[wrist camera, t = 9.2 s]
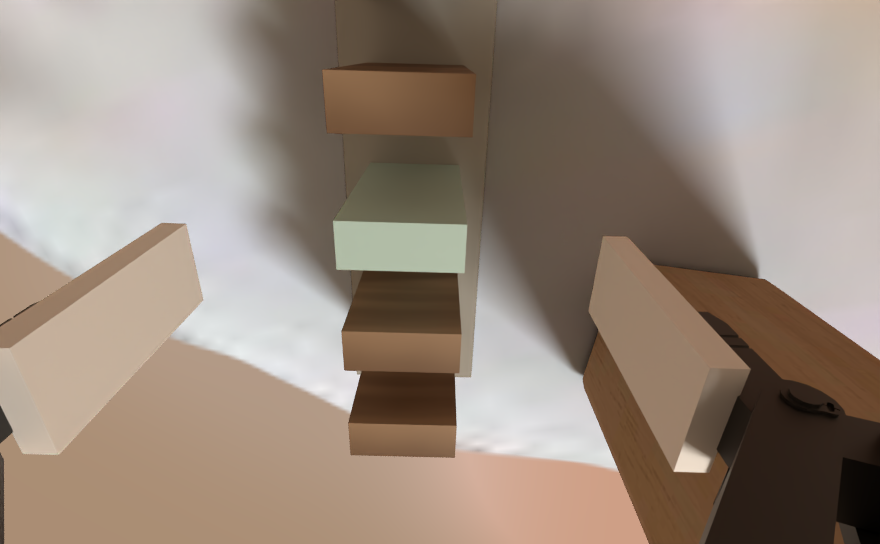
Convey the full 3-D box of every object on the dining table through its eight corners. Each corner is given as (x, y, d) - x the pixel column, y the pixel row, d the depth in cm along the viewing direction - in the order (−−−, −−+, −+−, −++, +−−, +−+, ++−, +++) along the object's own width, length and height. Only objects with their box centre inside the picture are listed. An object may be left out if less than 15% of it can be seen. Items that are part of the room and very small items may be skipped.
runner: (327, -134, 21) (326, -137, 21) (505, -128, 21) (506, -130, 21) (357, 371, 33) (356, 374, 33) (470, 374, 33) (471, 377, 33)
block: (709, 397, 34) (1014, 794, 16) (575, 381, 33) (731, 773, 15) (770, 274, 30) (1281, 624, 12) (617, 254, 29) (902, 588, 11)
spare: (370, 162, 26) (332, 220, 17) (459, 165, 26) (467, 224, 17) (371, 196, 27) (336, 269, 18) (457, 199, 27) (464, 273, 18)
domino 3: (376, 313, 31) (348, 423, 22) (452, 315, 31) (456, 425, 22) (377, 338, 31) (350, 455, 22) (451, 340, 32) (454, 457, 22)
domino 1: (367, 62, 24) (322, 69, 15) (463, 65, 24) (476, 74, 15) (368, 103, 25) (326, 133, 16) (461, 106, 25) (472, 137, 16)
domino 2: (373, 242, 28) (341, 331, 19) (455, 244, 29) (461, 334, 19) (374, 271, 29) (344, 370, 20) (454, 274, 29) (459, 373, 20)
